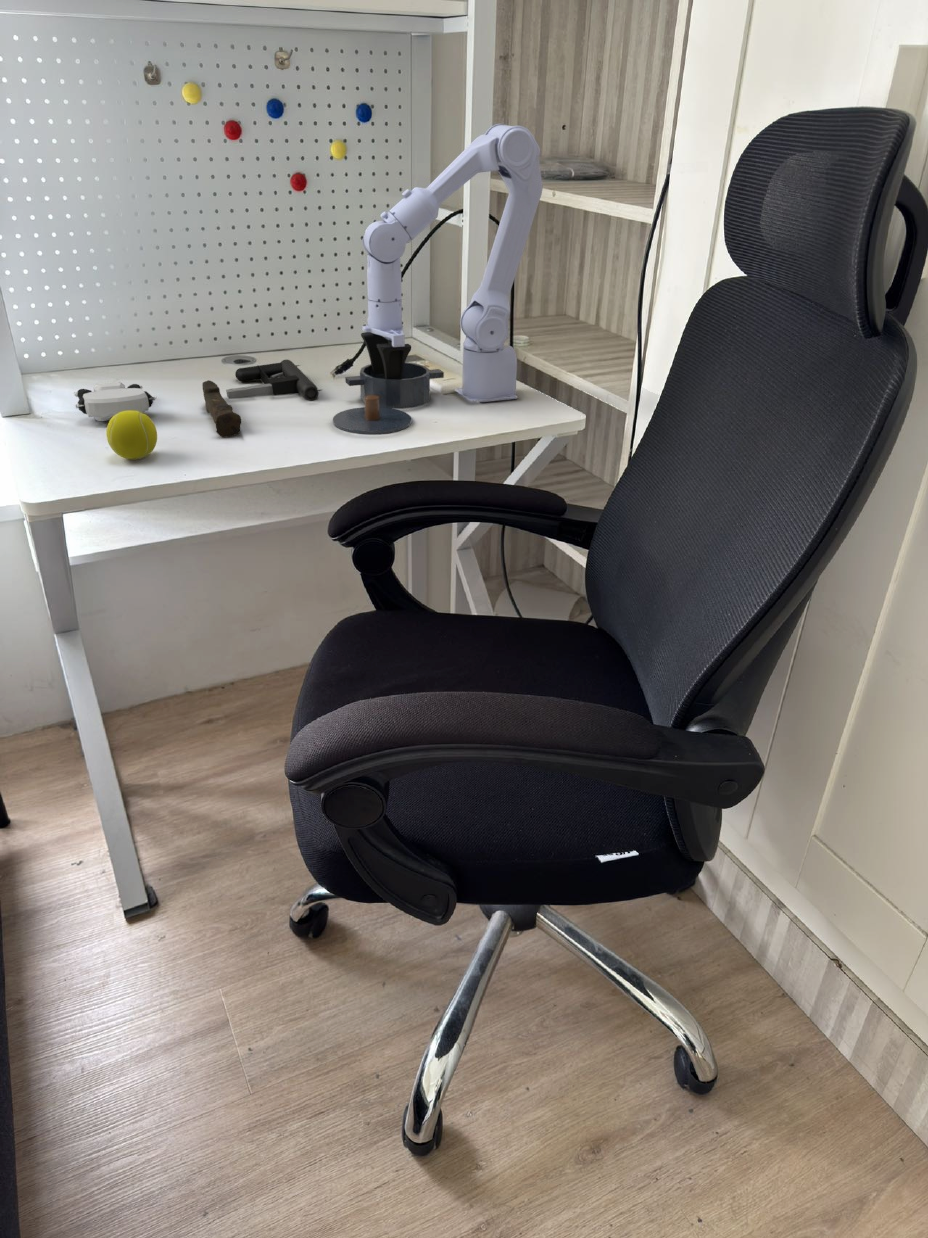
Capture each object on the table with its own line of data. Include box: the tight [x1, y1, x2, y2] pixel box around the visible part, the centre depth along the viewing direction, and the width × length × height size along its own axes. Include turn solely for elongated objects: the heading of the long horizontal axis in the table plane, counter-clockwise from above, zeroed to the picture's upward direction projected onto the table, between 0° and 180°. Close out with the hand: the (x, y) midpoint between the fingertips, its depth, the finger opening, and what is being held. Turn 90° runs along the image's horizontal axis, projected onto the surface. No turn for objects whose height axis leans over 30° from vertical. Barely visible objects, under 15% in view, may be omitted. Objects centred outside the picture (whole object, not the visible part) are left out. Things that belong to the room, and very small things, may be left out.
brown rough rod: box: [201, 379, 242, 438], centre depth 151 cm, size 19×4×5 cm, turn 21°
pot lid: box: [332, 395, 413, 435], centre depth 151 cm, size 13×13×5 cm
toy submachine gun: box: [225, 359, 322, 401], centre depth 167 cm, size 3×20×16 cm
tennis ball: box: [106, 410, 158, 460], centre depth 134 cm, size 7×7×7 cm
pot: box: [344, 361, 445, 410], centre depth 162 cm, size 12×18×6 cm
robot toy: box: [73, 381, 158, 422], centre depth 153 cm, size 12×4×15 cm
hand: (386, 379), depth 161 cm, fingers open, 7 cm apart
